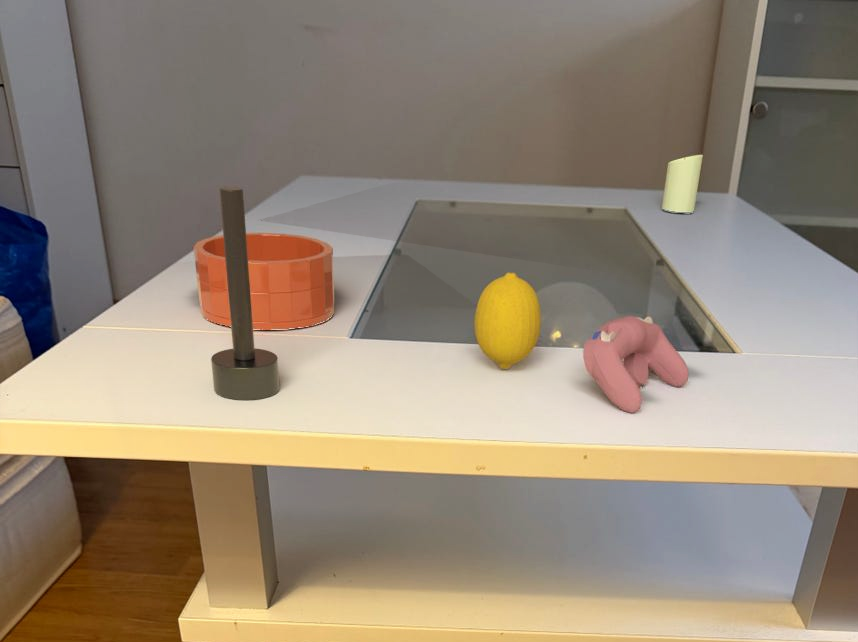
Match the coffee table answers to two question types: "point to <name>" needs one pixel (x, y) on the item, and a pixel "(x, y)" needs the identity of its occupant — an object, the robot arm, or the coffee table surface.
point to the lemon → (507, 320)
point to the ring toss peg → (241, 316)
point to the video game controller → (631, 359)
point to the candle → (682, 184)
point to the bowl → (270, 280)
